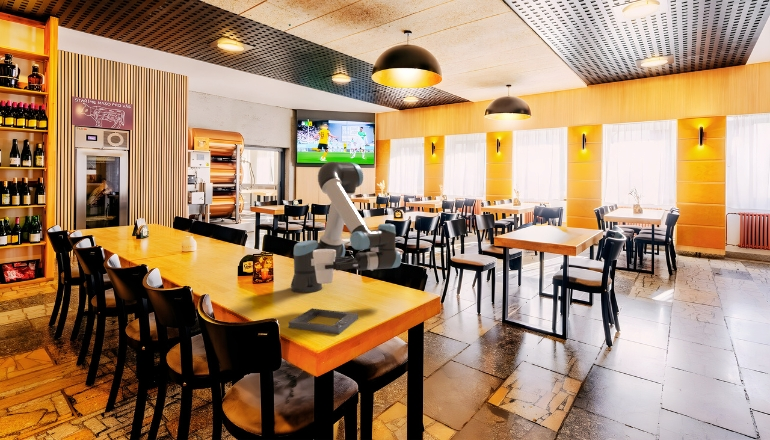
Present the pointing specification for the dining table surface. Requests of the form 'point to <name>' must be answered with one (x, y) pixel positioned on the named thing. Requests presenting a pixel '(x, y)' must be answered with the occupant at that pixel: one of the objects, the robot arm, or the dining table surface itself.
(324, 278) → the foam cup
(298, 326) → the square frame
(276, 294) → the dining table surface
